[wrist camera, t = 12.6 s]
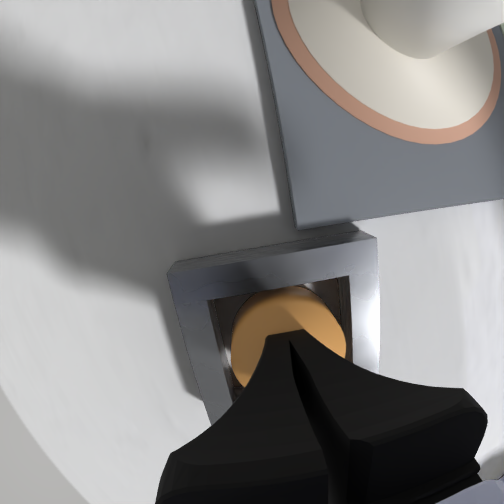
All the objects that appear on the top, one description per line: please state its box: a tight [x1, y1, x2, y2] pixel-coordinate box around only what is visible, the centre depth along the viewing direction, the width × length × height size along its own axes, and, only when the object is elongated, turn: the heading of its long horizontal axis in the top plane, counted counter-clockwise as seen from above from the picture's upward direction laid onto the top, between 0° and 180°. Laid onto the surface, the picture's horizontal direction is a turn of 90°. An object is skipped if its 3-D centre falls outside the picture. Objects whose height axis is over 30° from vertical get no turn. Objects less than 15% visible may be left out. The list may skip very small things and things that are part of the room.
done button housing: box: [167, 230, 380, 426], centre depth 12 cm, size 7×7×2 cm
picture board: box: [254, 0, 504, 230], centre depth 10 cm, size 20×14×1 cm
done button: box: [231, 286, 346, 388], centre depth 11 cm, size 4×4×2 cm
